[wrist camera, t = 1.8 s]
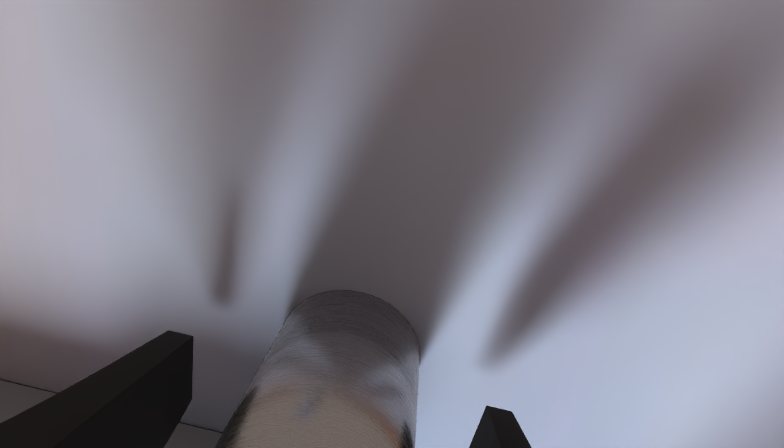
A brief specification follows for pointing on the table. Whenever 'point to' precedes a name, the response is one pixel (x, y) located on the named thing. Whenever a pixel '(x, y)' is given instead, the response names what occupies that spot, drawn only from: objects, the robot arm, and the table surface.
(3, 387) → the camera body
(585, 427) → the table surface
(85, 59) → the table surface
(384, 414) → the lens
